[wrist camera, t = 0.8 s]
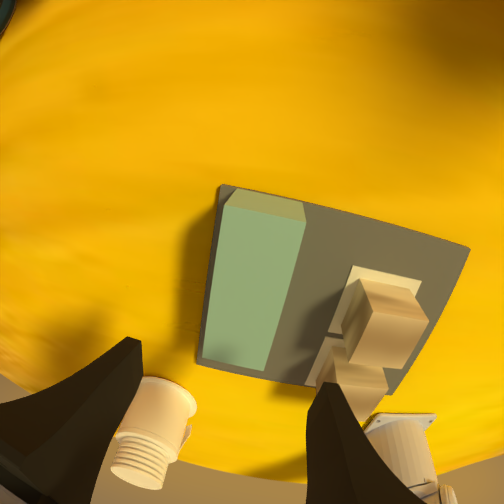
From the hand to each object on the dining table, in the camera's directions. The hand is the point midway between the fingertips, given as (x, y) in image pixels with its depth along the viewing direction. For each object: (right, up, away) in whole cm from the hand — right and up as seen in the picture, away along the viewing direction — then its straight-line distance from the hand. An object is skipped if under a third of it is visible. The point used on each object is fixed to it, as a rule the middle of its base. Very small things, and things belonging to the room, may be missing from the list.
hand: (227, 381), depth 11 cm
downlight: (-8, -10, +17) cm, 21 cm away
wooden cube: (+9, -4, +12) cm, 15 cm away
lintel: (+1, +4, +9) cm, 10 cm away
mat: (+7, 0, +10) cm, 12 cm away
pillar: (+10, +1, +9) cm, 13 cm away
